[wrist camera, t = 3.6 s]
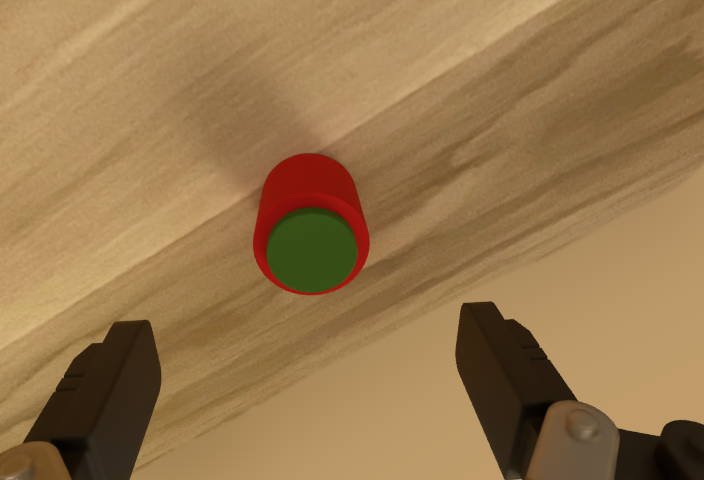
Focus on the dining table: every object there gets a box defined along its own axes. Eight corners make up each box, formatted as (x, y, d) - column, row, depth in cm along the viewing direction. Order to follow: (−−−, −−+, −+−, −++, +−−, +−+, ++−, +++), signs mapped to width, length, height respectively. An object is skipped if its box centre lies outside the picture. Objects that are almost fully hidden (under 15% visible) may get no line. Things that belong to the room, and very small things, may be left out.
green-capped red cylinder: (357, 151, 21) (373, 197, 16) (356, 239, 23) (370, 302, 18) (257, 154, 20) (245, 201, 16) (266, 242, 22) (257, 308, 18)
